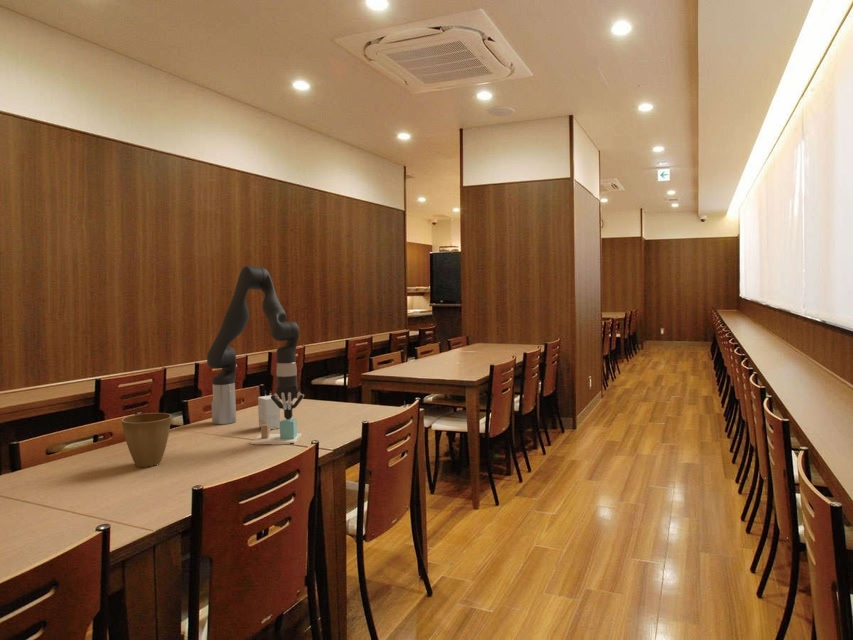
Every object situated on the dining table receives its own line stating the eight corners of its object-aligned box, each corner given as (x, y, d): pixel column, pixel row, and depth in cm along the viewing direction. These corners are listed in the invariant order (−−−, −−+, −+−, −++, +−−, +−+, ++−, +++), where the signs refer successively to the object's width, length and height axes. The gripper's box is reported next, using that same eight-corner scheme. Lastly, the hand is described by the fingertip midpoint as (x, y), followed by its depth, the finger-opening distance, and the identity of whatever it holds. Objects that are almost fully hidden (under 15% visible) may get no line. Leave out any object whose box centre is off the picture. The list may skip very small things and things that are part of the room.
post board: (251, 444, 211) (250, 429, 211) (261, 436, 223) (260, 421, 223) (294, 444, 211) (293, 428, 211) (301, 435, 223) (301, 420, 223)
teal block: (280, 439, 214) (279, 422, 214) (283, 435, 220) (283, 419, 219) (293, 439, 214) (293, 421, 214) (297, 435, 220) (296, 418, 219)
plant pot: (118, 473, 180) (116, 424, 179) (129, 460, 195) (127, 414, 194) (169, 468, 184) (167, 420, 183) (176, 456, 199) (174, 411, 198)
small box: (280, 428, 236) (279, 397, 235) (266, 431, 232) (265, 399, 231) (272, 425, 242) (271, 394, 242) (258, 427, 238) (257, 396, 238)
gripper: (306, 372, 220) (307, 416, 220) (272, 373, 220) (273, 417, 220) (301, 375, 212) (303, 421, 213) (266, 376, 212) (268, 421, 213)
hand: (288, 419), depth 217 cm, fingers closed
